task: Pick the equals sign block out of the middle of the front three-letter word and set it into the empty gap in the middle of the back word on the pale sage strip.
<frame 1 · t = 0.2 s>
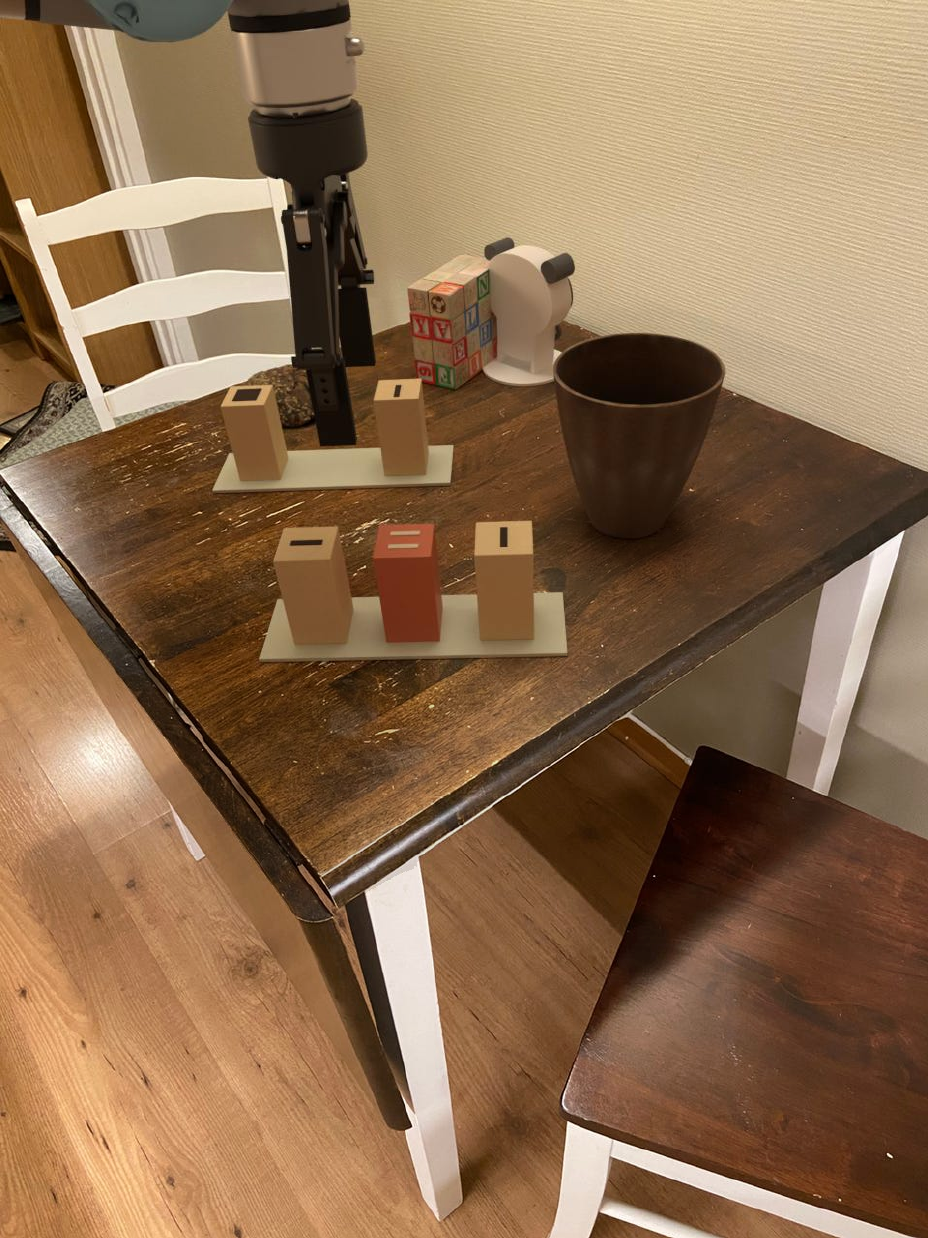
hand: (350, 401, 71), 18 cm above the table, tool pointing down, fingers open, 13 cm apart
back word: (336, 470, 98), on the table
bread roll: (291, 406, 111), on the table
front word: (415, 627, 77), on the table
equals sign block: (415, 624, 77), resting on front word
flower pot: (627, 519, 88), on the table
stack of blocks: (479, 354, 119), on the table, touching panda figurine
panda figurine: (528, 368, 115), on the table, touching stack of blocks
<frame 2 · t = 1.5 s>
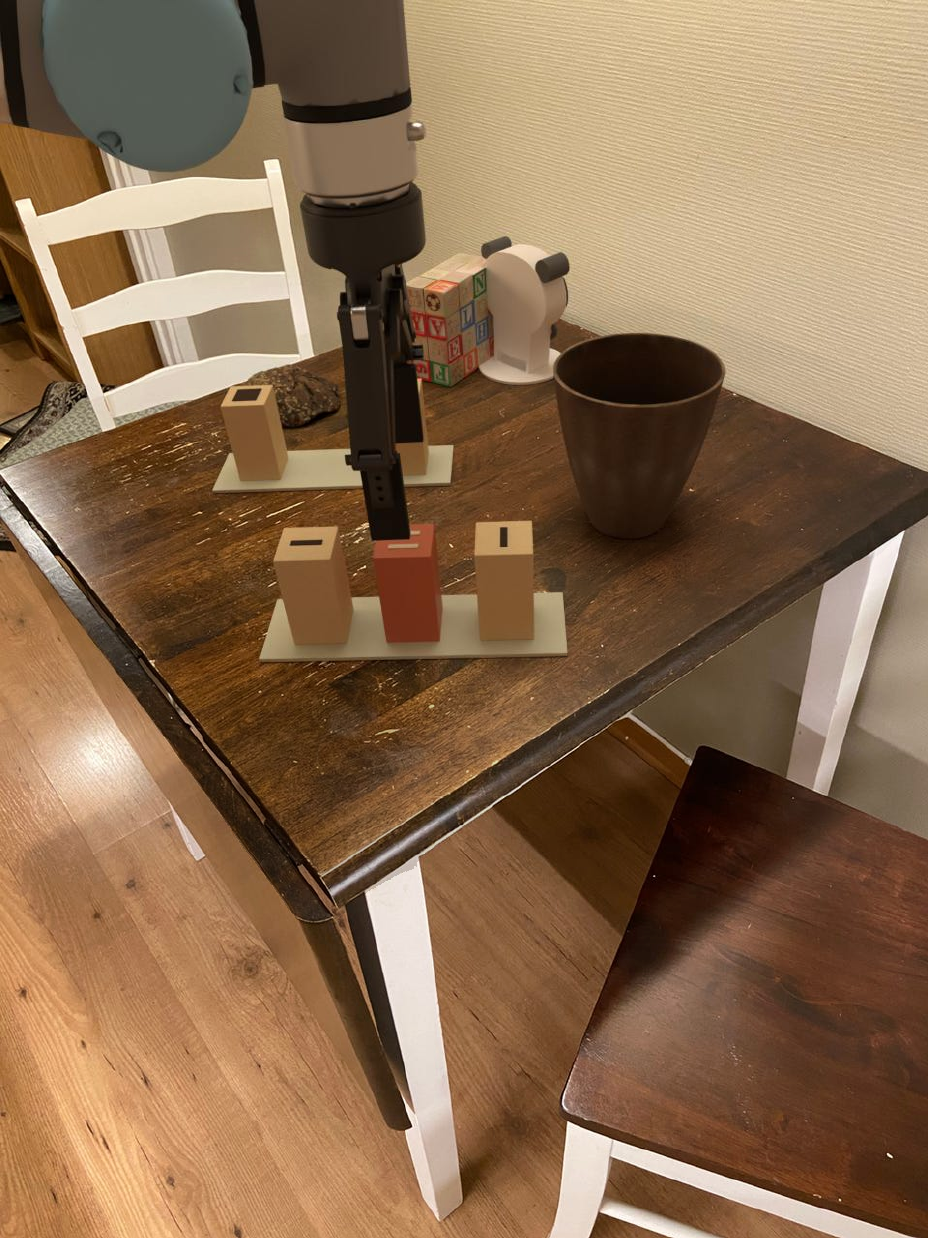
hand: (399, 485, 68), 14 cm above the table, tool pointing down, fingers open, 13 cm apart
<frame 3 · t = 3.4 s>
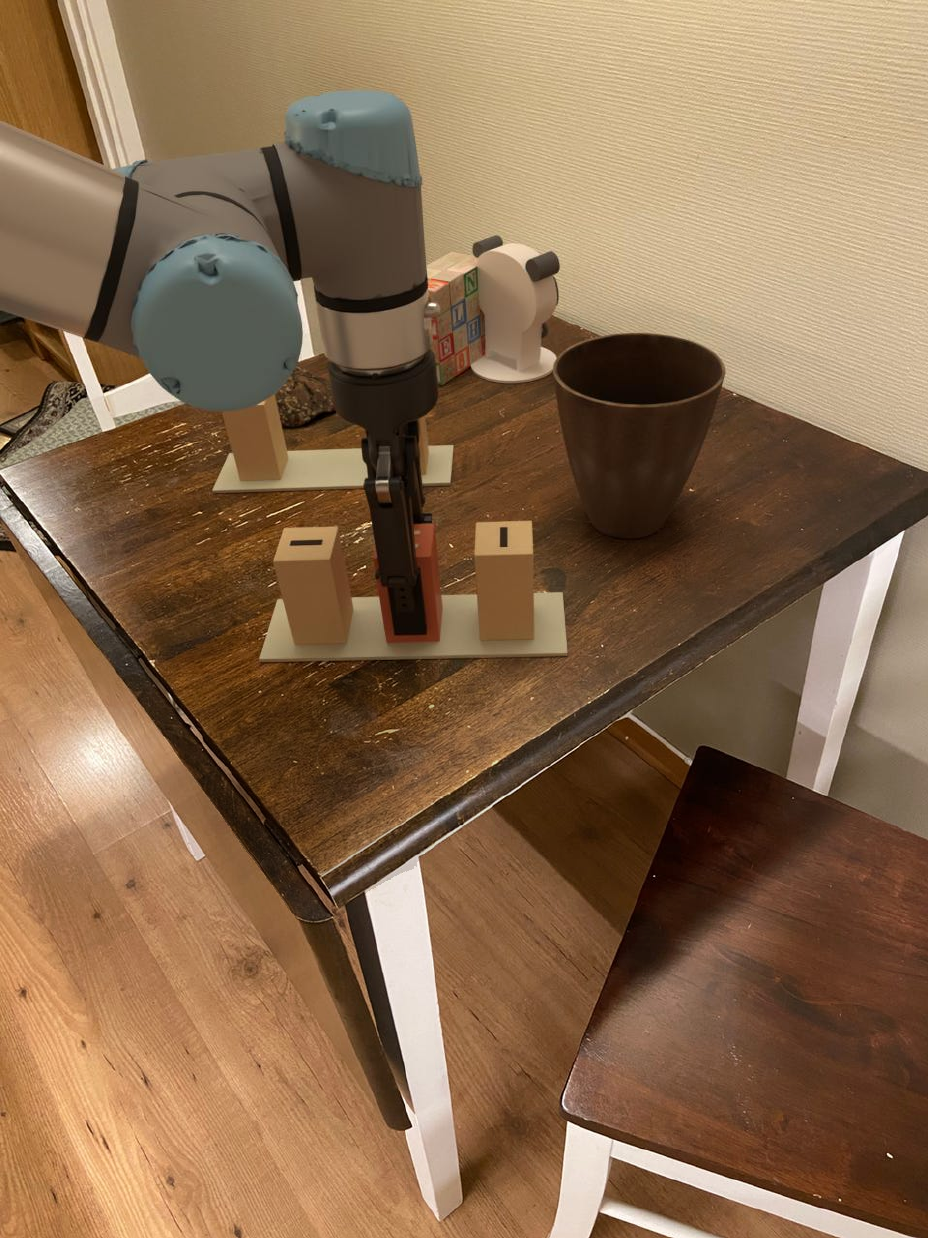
hand: (413, 611, 76), 2 cm above the table, tool pointing down, fingers closed on equals sign block, 5 cm apart
equals sign block: (415, 624, 77), resting on front word, touching gripper
stack of blocks: (469, 351, 120), on the table, touching panda figurine
panda figurine: (515, 365, 116), on the table, touching stack of blocks
everything else where it was.
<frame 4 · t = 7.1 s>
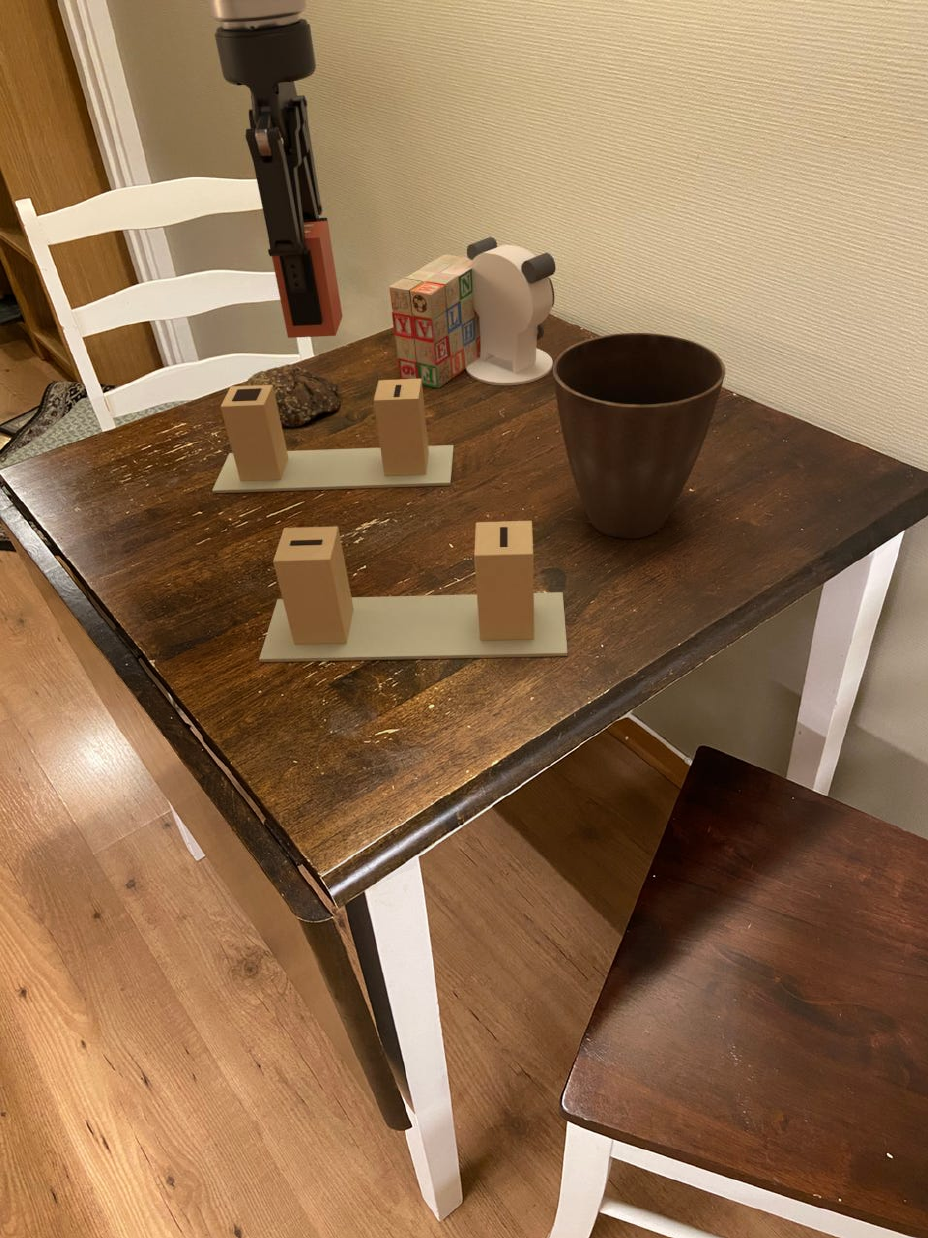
hand: (312, 311, 84), 19 cm above the table, tool pointing down, fingers closed on equals sign block, 5 cm apart
equals sign block: (315, 327, 85), point 17 cm above the table, touching gripper
stack of blocks: (464, 354, 120), on the table, touching panda figurine
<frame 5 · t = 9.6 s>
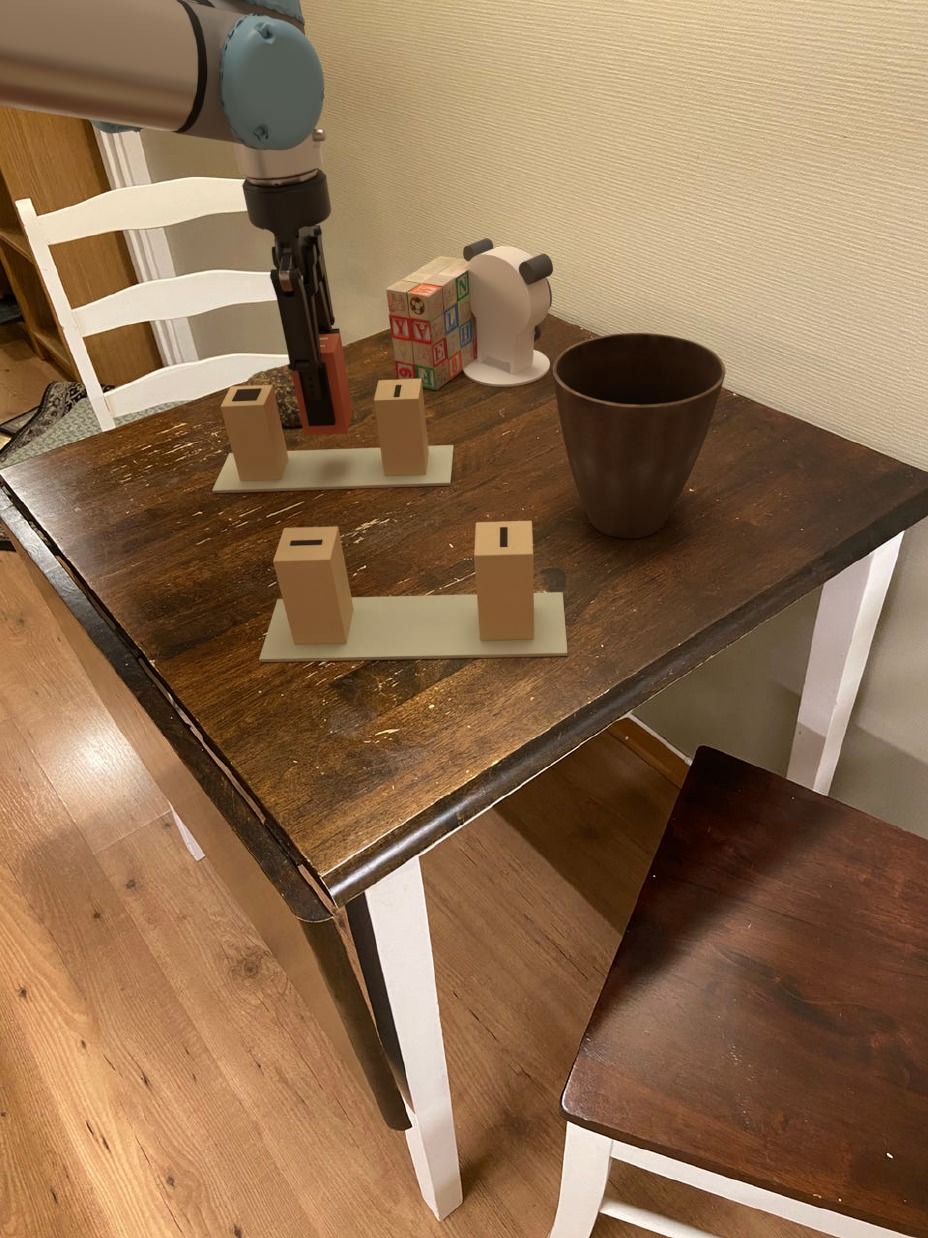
hand: (326, 411, 94), 7 cm above the table, tool pointing down, fingers closed on equals sign block, 5 cm apart
equals sign block: (329, 423, 94), point 6 cm above the table, touching gripper
stack of blocks: (460, 355, 119), on the table, touching panda figurine
when the fingers open (2 cm above the table, at t = 11.1 s): equals sign block stays where it is, resting on back word.
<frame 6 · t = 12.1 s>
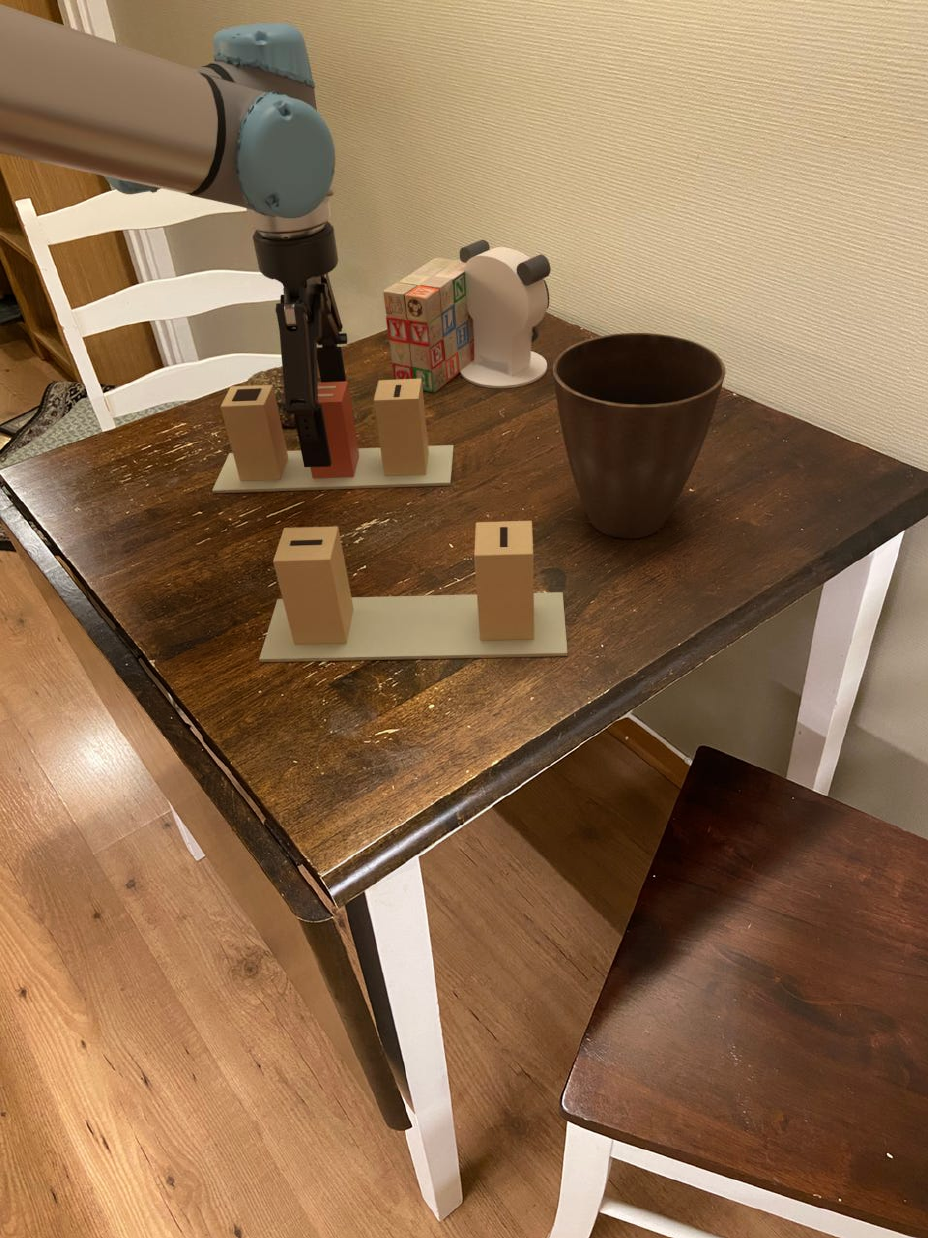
hand: (328, 432, 95), 5 cm above the table, tool pointing down, fingers open, 13 cm apart
equals sign block: (336, 466, 98), resting on back word
stack of blocks: (457, 357, 119), on the table, touching panda figurine
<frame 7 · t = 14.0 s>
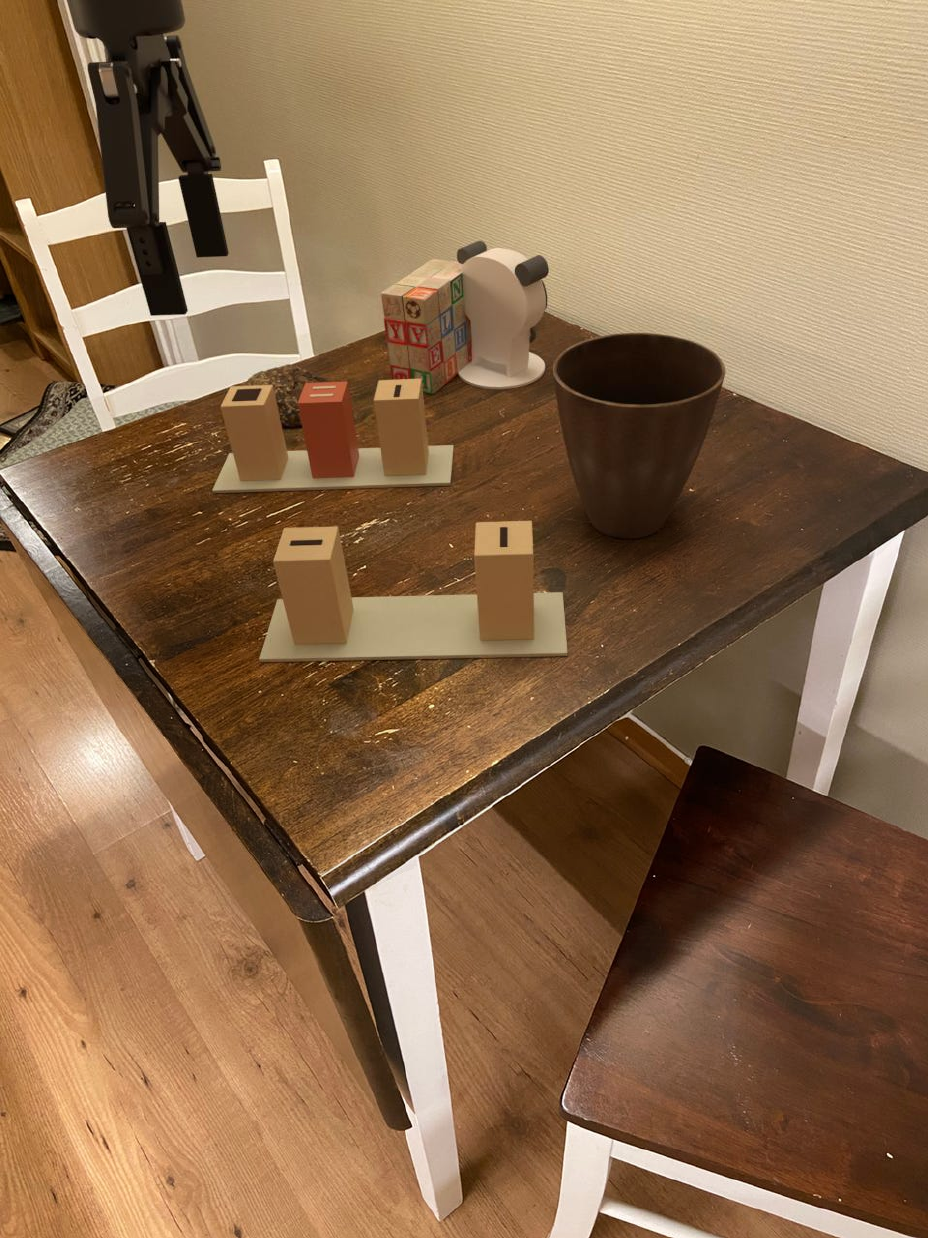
hand: (192, 282, 73), 25 cm above the table, tool pointing down, fingers open, 13 cm apart
stack of blocks: (454, 358, 119), on the table, touching panda figurine
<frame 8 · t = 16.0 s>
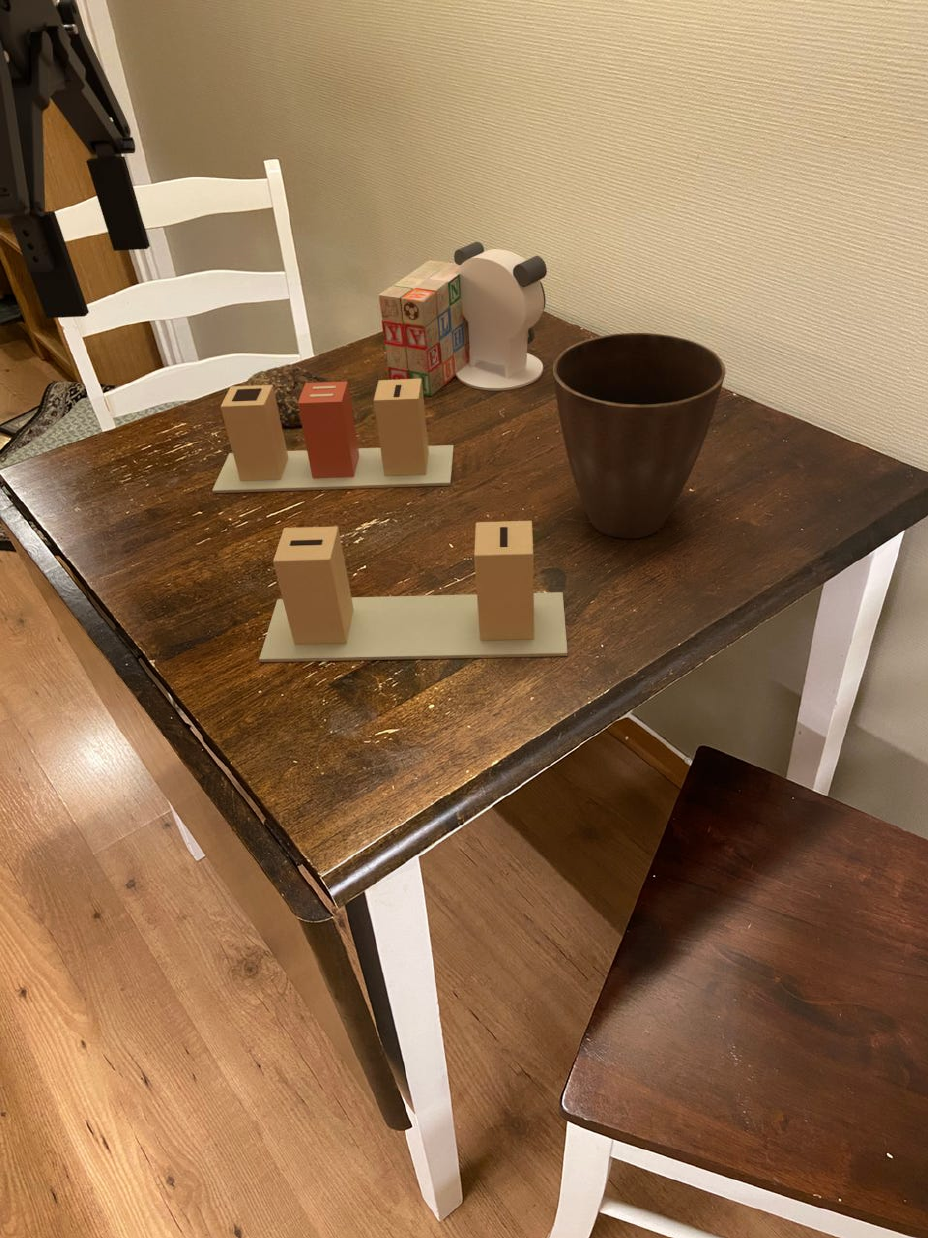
hand: (102, 279, 65), 29 cm above the table, tool pointing down, fingers open, 13 cm apart
at the end: equals sign block 0.1 cm off-centre on the back word, point 0.4 cm above the back word's base; equals sign block tilted 0°; the gripper is holding nothing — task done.
